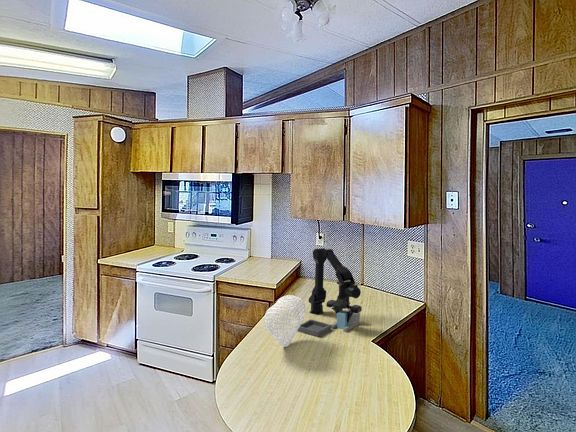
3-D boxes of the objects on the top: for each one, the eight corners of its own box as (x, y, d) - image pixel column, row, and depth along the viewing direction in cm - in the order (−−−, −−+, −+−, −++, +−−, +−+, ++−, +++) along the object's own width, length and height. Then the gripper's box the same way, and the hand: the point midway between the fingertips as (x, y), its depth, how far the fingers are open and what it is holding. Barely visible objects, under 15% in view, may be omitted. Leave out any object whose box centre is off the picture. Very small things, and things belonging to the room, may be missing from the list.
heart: (278, 333, 178) (279, 290, 177) (308, 336, 173) (308, 293, 172) (259, 357, 151) (260, 307, 150) (293, 362, 147) (294, 310, 145)
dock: (330, 328, 185) (330, 315, 185) (345, 319, 200) (346, 306, 199) (345, 332, 180) (346, 318, 180) (360, 322, 194) (360, 310, 194)
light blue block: (336, 327, 187) (336, 311, 186) (341, 324, 191) (342, 308, 191) (344, 329, 184) (345, 313, 183) (349, 326, 188) (350, 310, 188)
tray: (296, 331, 181) (297, 326, 181) (310, 323, 191) (310, 319, 191) (318, 337, 173) (318, 332, 173) (330, 329, 184) (330, 324, 183)
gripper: (321, 293, 186) (321, 322, 186) (353, 300, 175) (352, 330, 175) (331, 289, 195) (331, 316, 195) (362, 295, 183) (361, 324, 184)
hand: (343, 321), depth 187 cm, fingers closed on light blue block, 5 cm apart
